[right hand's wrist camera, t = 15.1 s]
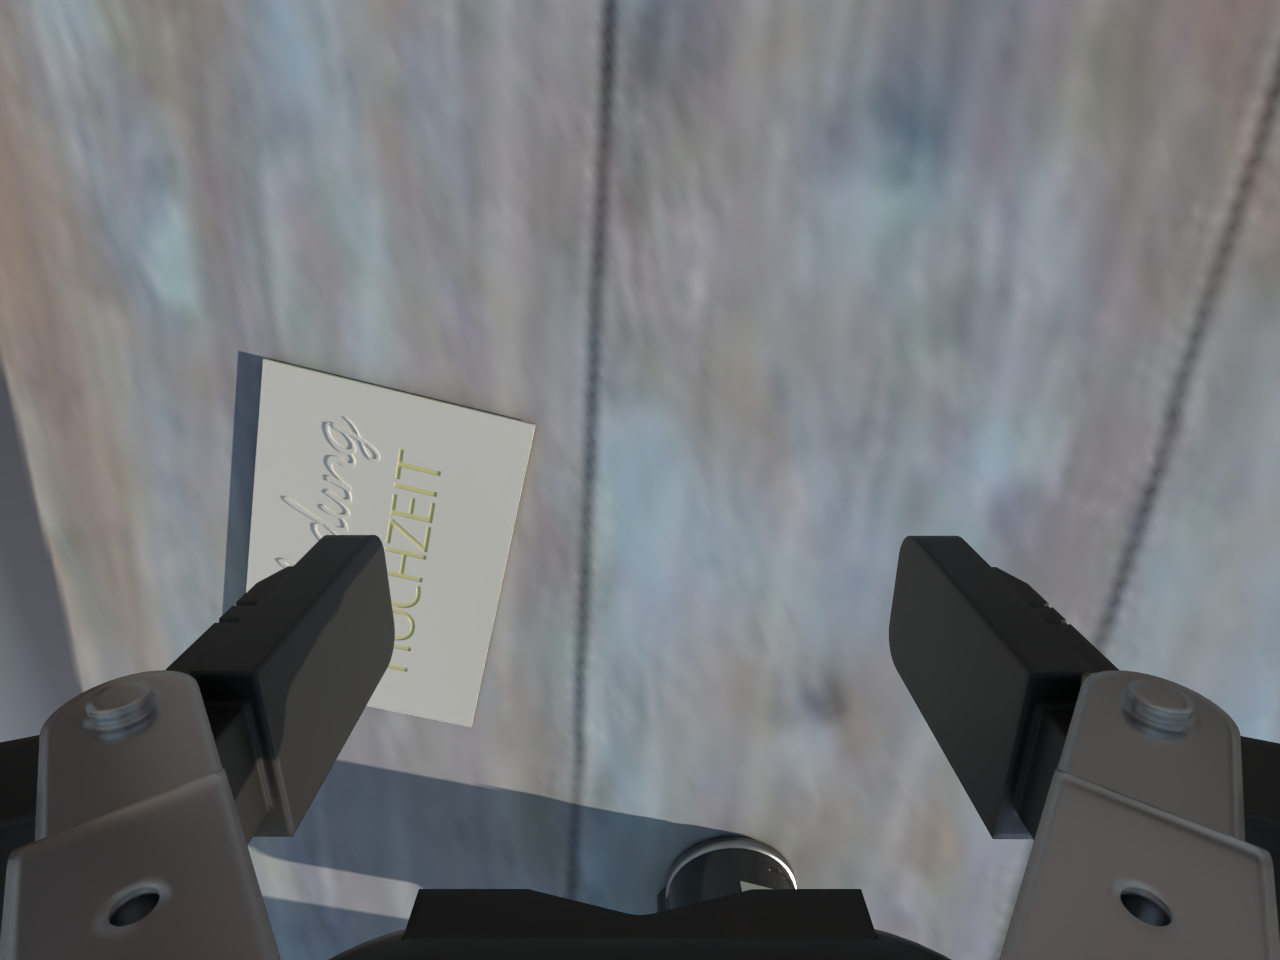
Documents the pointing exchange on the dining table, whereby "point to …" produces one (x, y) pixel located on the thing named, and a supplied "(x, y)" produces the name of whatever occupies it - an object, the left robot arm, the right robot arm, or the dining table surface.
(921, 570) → the right robot arm
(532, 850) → the dining table surface
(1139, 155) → the dining table surface
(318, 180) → the dining table surface
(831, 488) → the dining table surface
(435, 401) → the invitation card
